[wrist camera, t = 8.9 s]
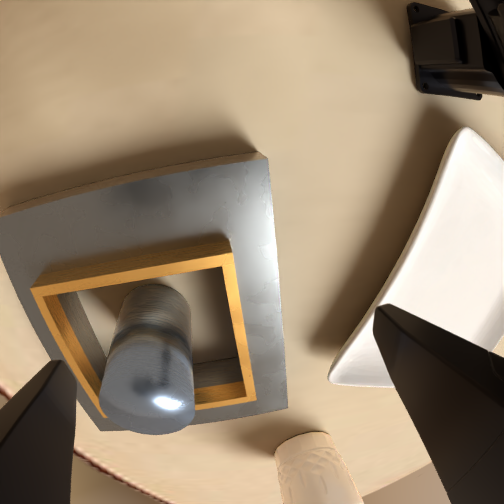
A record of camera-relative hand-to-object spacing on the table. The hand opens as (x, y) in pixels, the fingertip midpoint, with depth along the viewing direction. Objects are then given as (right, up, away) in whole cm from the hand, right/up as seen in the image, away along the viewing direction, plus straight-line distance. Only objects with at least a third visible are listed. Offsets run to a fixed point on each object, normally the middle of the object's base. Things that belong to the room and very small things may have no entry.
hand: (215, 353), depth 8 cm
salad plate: (+19, 0, +17) cm, 26 cm away
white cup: (+7, -19, +24) cm, 31 cm away
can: (-6, -2, +13) cm, 14 cm away
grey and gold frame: (-6, -2, +13) cm, 14 cm away
